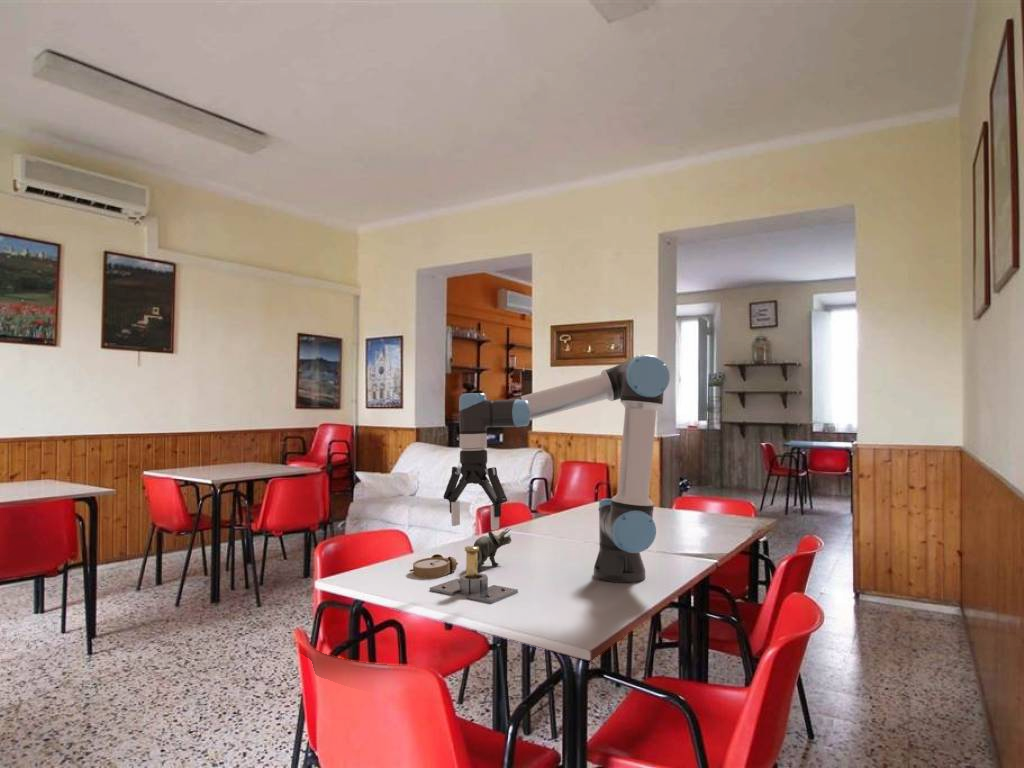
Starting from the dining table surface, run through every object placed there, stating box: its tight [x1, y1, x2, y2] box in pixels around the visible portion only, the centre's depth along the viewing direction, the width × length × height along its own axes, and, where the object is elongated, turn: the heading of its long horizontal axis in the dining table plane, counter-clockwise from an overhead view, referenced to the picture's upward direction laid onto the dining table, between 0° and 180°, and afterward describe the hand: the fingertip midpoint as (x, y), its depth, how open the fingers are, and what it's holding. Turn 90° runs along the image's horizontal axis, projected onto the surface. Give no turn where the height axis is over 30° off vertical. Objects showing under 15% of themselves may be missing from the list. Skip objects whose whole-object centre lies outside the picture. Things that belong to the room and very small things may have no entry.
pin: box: [464, 545, 479, 579], centre depth 173 cm, size 4×4×12 cm
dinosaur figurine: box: [473, 527, 512, 573], centre depth 199 cm, size 22×8×11 cm, turn 148°
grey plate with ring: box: [429, 572, 519, 604], centre depth 172 cm, size 12×21×4 cm, turn 55°
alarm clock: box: [409, 553, 459, 579], centre depth 194 cm, size 11×5×15 cm
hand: (475, 527), depth 173 cm, fingers open, 13 cm apart
